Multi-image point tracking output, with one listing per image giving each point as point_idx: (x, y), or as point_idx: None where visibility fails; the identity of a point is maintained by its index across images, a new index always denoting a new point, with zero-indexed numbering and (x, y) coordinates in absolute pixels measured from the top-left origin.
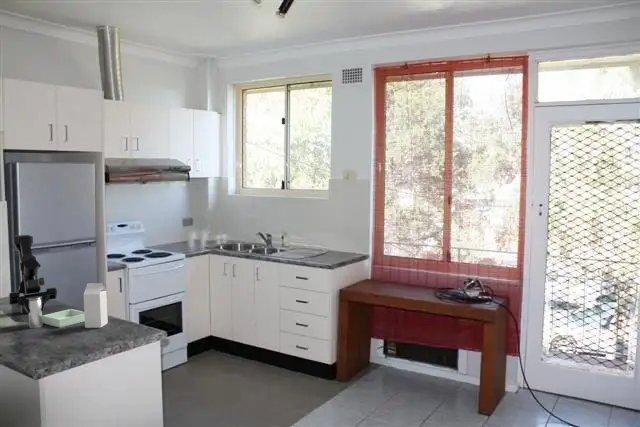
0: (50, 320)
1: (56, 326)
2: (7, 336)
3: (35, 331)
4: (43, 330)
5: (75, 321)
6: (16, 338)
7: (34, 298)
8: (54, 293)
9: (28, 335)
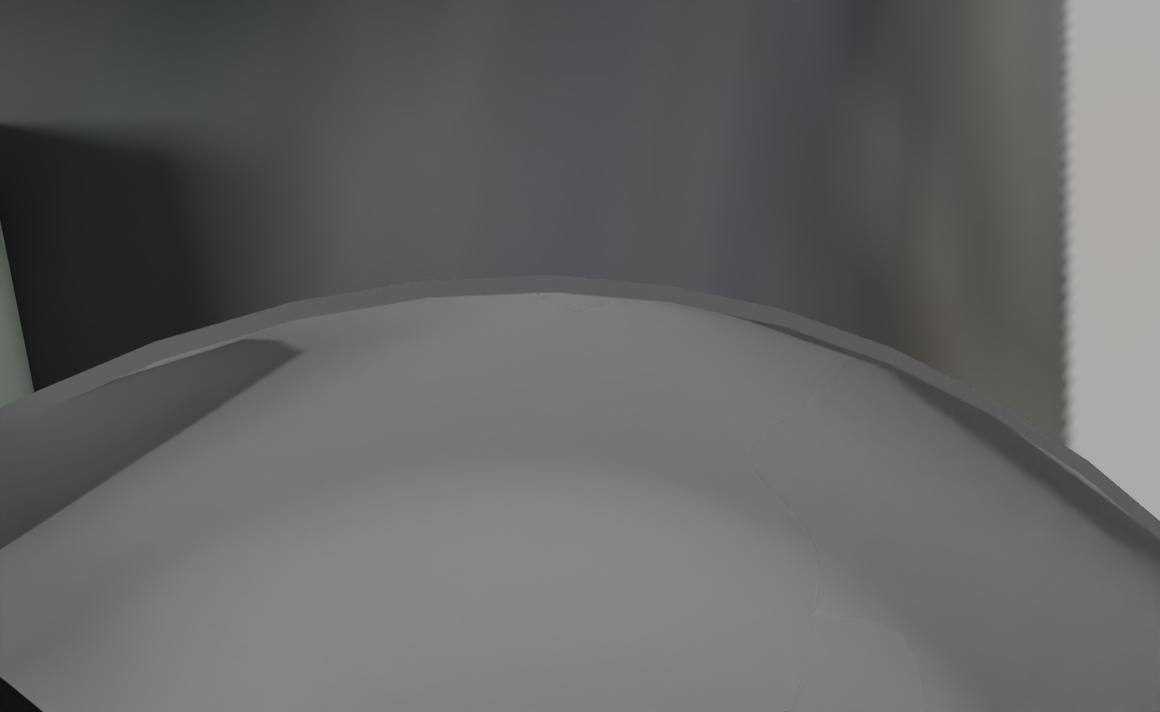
0: None
1: (5, 264)
2: (1037, 257)
3: (538, 227)
4: (375, 181)
5: None
6: (909, 7)
7: (750, 515)
8: None
9: (709, 36)
